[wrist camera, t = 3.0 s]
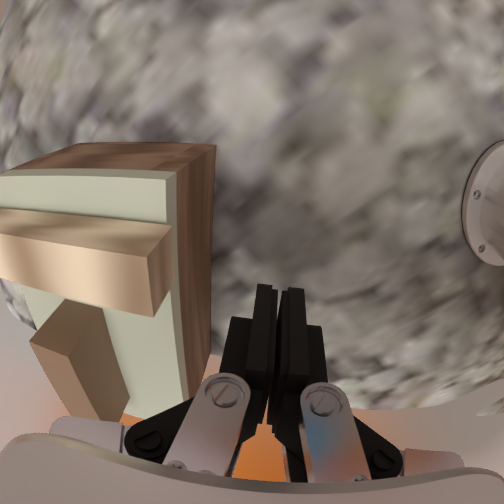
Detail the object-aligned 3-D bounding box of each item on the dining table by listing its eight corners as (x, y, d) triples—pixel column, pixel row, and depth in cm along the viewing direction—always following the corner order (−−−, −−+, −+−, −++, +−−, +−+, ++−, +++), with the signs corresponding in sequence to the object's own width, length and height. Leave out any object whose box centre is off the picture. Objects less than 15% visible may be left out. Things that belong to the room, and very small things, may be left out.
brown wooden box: (216, 144, 22) (165, 179, 13) (210, 351, 33) (187, 429, 24) (16, 148, 24) (-57, 179, 14) (52, 312, 34) (10, 364, 25)
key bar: (172, 225, 14) (146, 257, 11) (174, 280, 15) (153, 318, 13) (-10, 207, 15) (-40, 226, 12) (0, 246, 16) (-27, 268, 13)
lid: (176, 171, 15) (117, 216, 9) (191, 416, 25) (176, 471, 20) (9, 170, 15) (-55, 202, 10) (74, 382, 26) (50, 425, 21)
